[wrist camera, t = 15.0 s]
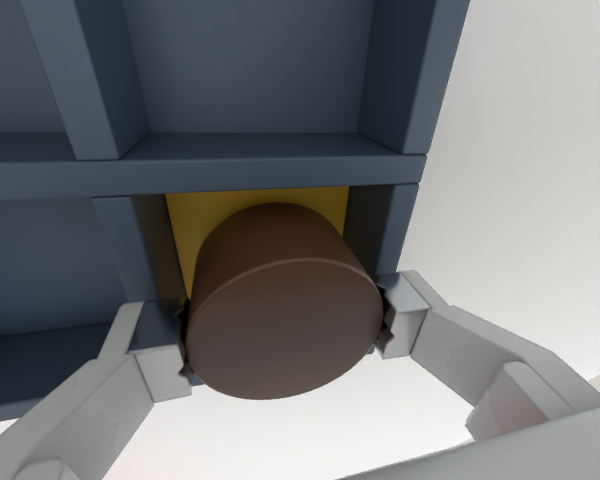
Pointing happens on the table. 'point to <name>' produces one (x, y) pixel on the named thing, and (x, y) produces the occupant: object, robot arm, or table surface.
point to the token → (278, 304)
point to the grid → (194, 148)
